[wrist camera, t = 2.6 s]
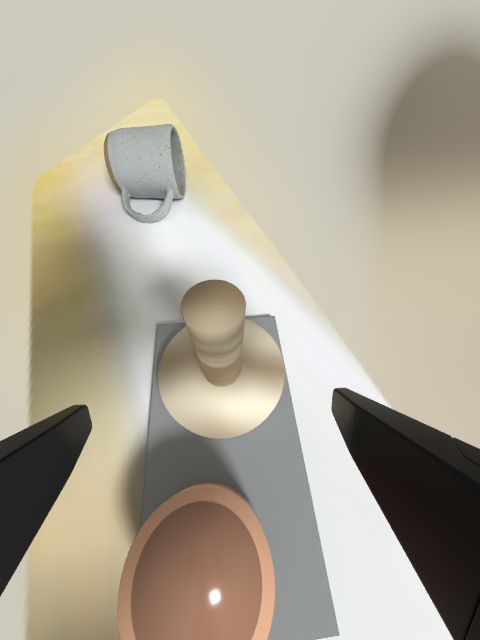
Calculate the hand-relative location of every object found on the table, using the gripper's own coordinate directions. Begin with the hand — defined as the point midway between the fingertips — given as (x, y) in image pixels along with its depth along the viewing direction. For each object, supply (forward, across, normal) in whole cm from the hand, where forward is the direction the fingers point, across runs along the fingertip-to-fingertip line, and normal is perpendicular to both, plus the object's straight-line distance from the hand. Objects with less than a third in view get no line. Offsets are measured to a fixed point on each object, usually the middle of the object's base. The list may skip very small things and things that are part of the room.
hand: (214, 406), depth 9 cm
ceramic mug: (+29, +8, -13) cm, 32 cm away
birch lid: (+10, 0, +4) cm, 11 cm away
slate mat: (+7, 0, +8) cm, 11 cm away
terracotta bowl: (+2, +1, +12) cm, 12 cm away
